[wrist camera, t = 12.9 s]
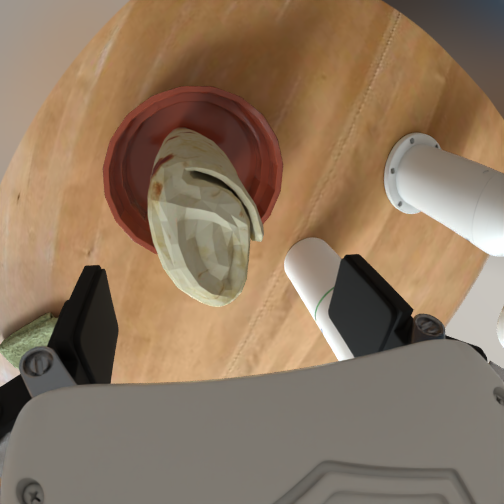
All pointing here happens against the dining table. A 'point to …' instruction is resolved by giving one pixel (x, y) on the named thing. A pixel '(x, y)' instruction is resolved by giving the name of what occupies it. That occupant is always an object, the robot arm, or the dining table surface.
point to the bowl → (203, 122)
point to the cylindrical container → (317, 285)
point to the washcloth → (28, 338)
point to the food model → (201, 218)
